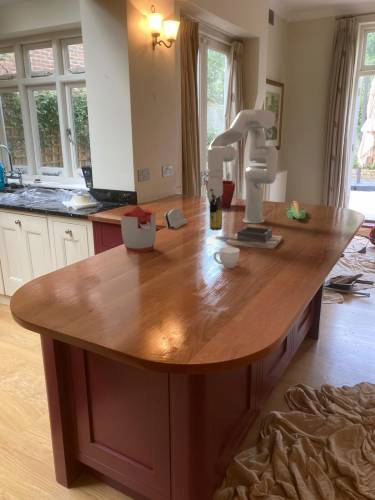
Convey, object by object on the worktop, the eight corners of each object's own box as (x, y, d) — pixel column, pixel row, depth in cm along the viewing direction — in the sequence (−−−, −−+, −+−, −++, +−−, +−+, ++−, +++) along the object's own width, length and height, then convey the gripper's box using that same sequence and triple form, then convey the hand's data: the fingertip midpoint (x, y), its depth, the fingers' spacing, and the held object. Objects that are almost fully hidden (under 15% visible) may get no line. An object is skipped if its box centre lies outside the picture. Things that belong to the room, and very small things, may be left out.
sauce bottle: (208, 228, 205) (208, 188, 199) (221, 227, 205) (221, 188, 199) (210, 231, 199) (210, 191, 193) (223, 230, 199) (223, 190, 193)
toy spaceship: (307, 223, 227) (308, 210, 225) (288, 223, 229) (289, 210, 227) (303, 212, 258) (303, 201, 255) (286, 212, 259) (286, 200, 257)
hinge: (174, 228, 219) (168, 211, 218) (167, 230, 222) (161, 213, 220) (187, 222, 234) (182, 205, 233) (180, 224, 236) (175, 208, 235)
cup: (239, 269, 154) (239, 253, 152) (213, 269, 155) (213, 252, 153) (239, 263, 161) (239, 247, 159) (214, 262, 162) (214, 246, 160)
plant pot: (234, 209, 271) (235, 183, 266) (206, 209, 271) (206, 184, 266) (232, 204, 289) (232, 180, 284) (205, 204, 289) (205, 180, 284)
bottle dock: (238, 235, 204) (238, 224, 203) (282, 239, 195) (282, 228, 193) (226, 244, 189) (226, 232, 187) (273, 249, 179) (273, 237, 178)
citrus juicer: (130, 257, 170) (127, 211, 165) (117, 247, 185) (114, 204, 179) (164, 252, 177) (162, 207, 171) (149, 243, 192) (147, 201, 186)
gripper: (214, 171, 202) (215, 206, 208) (201, 175, 188) (201, 213, 193) (229, 171, 199) (228, 207, 205) (216, 176, 184) (216, 214, 190)
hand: (215, 210), depth 199 cm, fingers closed on sauce bottle, 6 cm apart
